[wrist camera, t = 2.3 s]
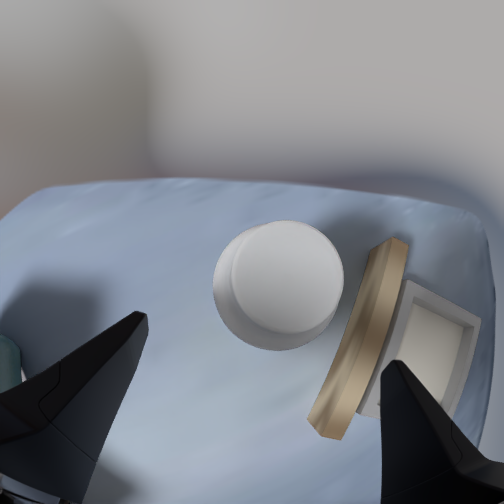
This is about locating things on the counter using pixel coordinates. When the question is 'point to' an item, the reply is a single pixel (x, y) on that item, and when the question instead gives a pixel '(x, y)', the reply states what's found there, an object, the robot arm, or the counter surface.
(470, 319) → the square tray
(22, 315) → the counter surface
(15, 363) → the flower pot
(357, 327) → the oak sill
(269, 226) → the supplement bottle
